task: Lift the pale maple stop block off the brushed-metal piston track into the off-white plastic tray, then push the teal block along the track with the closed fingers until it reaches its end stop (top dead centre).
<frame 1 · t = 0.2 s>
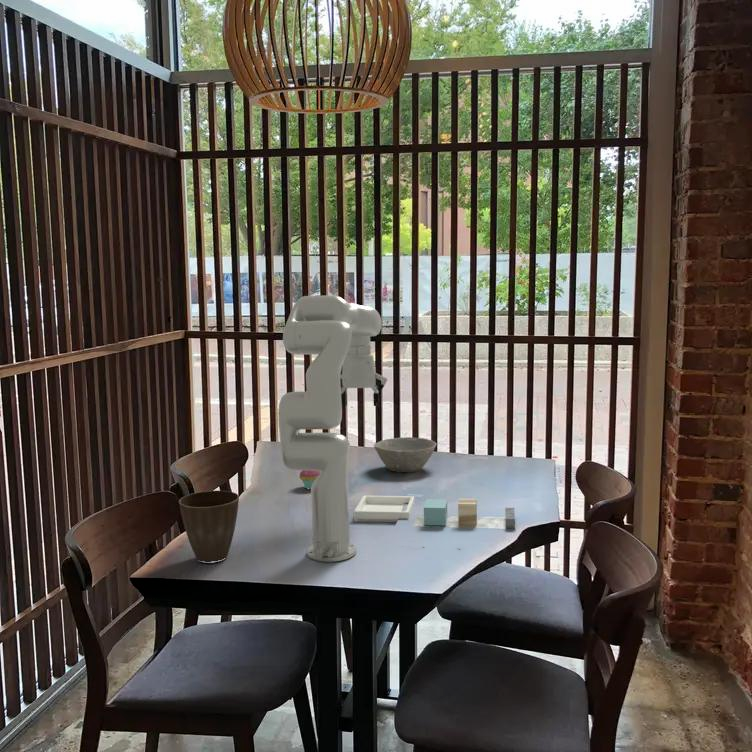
hand: (360, 405, 233), 31 cm above the table, fingers open, 9 cm apart
piston track: (464, 526, 211), on the table
teal block: (435, 512, 212), point 4 cm above the table, slide at 0.0 cm
ceramic bowl: (405, 470, 275), on the table
cupcake: (312, 488, 255), on the table
plant pot: (212, 559, 192), on the table
stop block: (467, 522, 211), point 1 cm above the table, touching piston track
tray: (385, 513, 225), on the table
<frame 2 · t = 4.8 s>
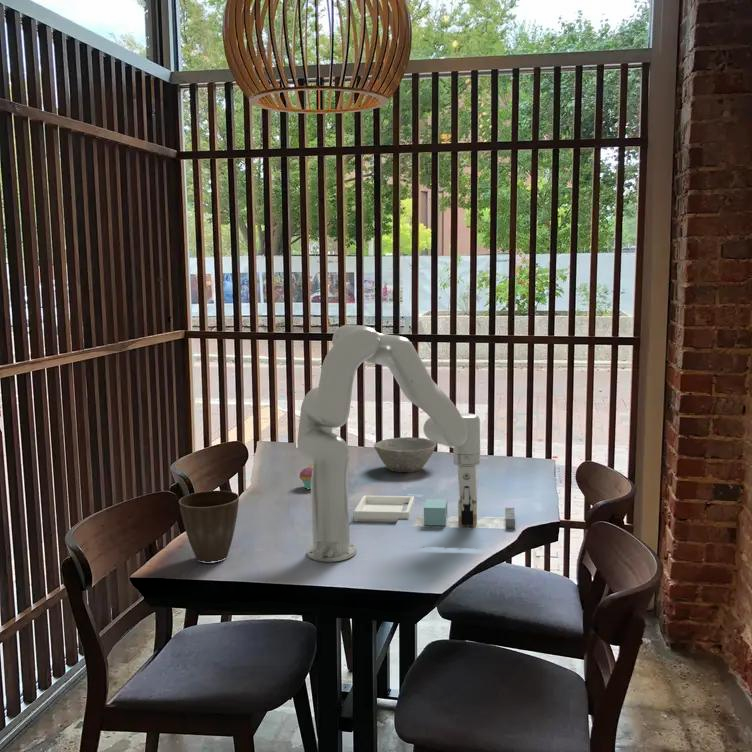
hand: (467, 520, 211), 2 cm above the table, fingers closed on stop block, 5 cm apart
stop block: (467, 522, 211), point 1 cm above the table, touching gripper, piston track
everything else where it was.
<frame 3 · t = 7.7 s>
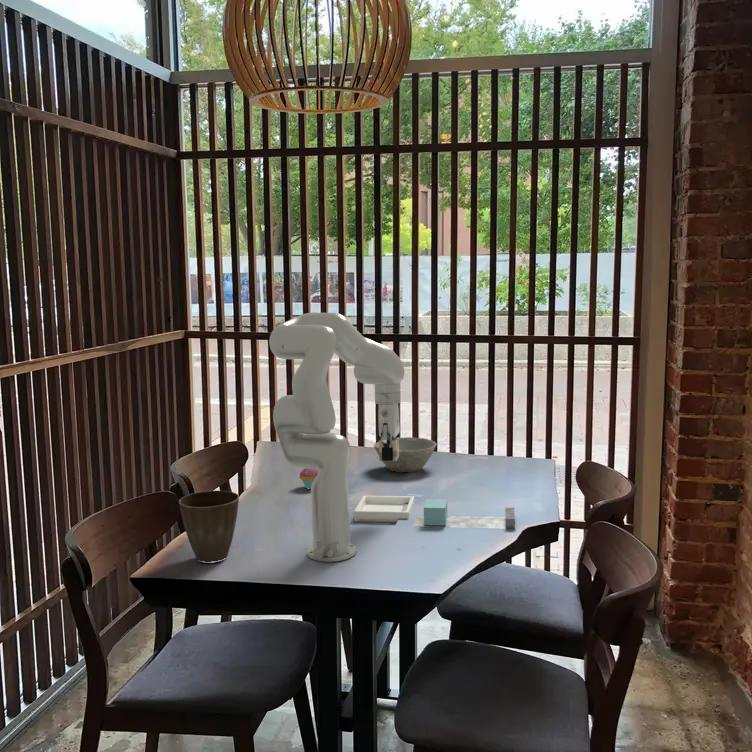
hand: (389, 457, 221), 17 cm above the table, fingers closed on stop block, 5 cm apart
stop block: (389, 459, 221), point 17 cm above the table, touching gripper
everything else where it was.
when the fingers open (3 cm above the table, at t = 11.0 s): stop block drops 2 cm, resting on tray.
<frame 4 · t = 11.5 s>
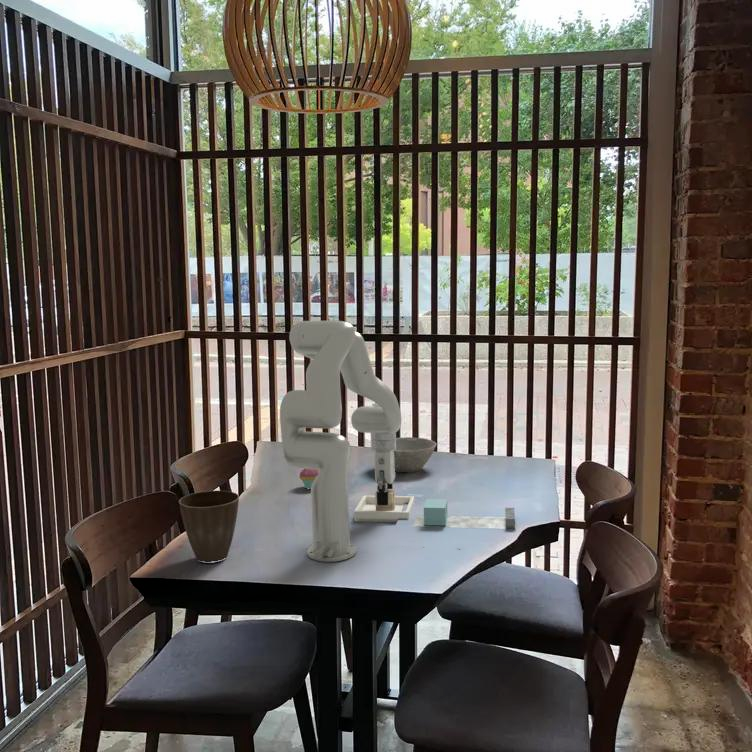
hand: (385, 500, 224), 4 cm above the table, fingers open, 9 cm apart
stop block: (385, 510, 224), point 1 cm above the table, touching tray
everything else where it was.
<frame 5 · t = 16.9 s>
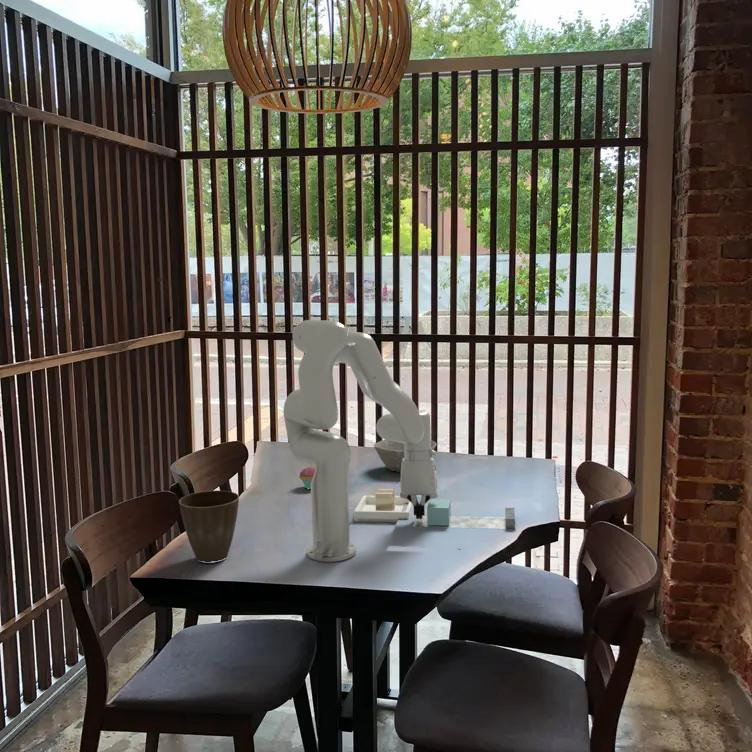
hand: (419, 517, 213), 2 cm above the table, fingers closed
teal block: (439, 512, 212), point 4 cm above the table, slide at 1.0 cm, touching gripper
everything else where it was.
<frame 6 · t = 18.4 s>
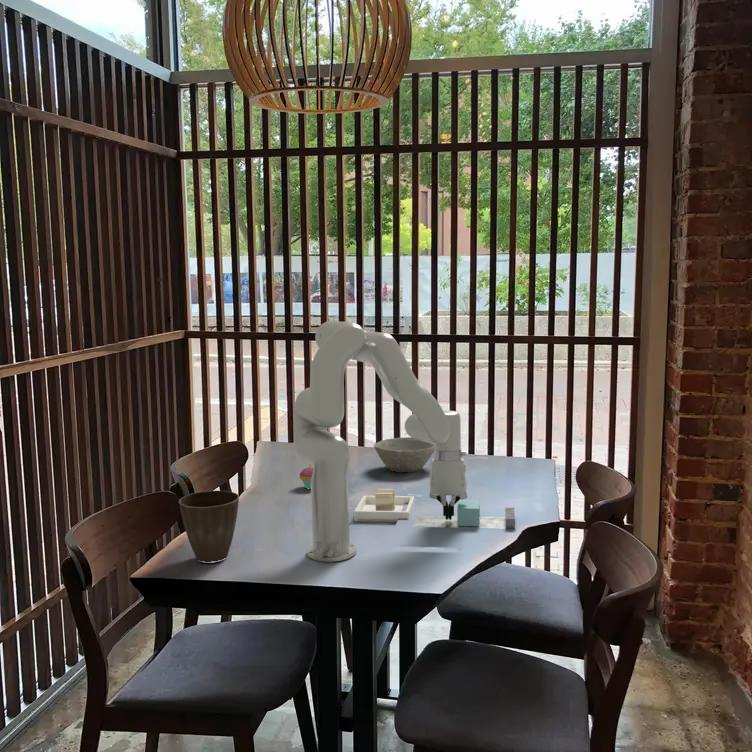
hand: (448, 518, 211), 2 cm above the table, fingers closed
teal block: (468, 512, 210), point 4 cm above the table, slide at 9.3 cm, touching gripper
everything else where it was.
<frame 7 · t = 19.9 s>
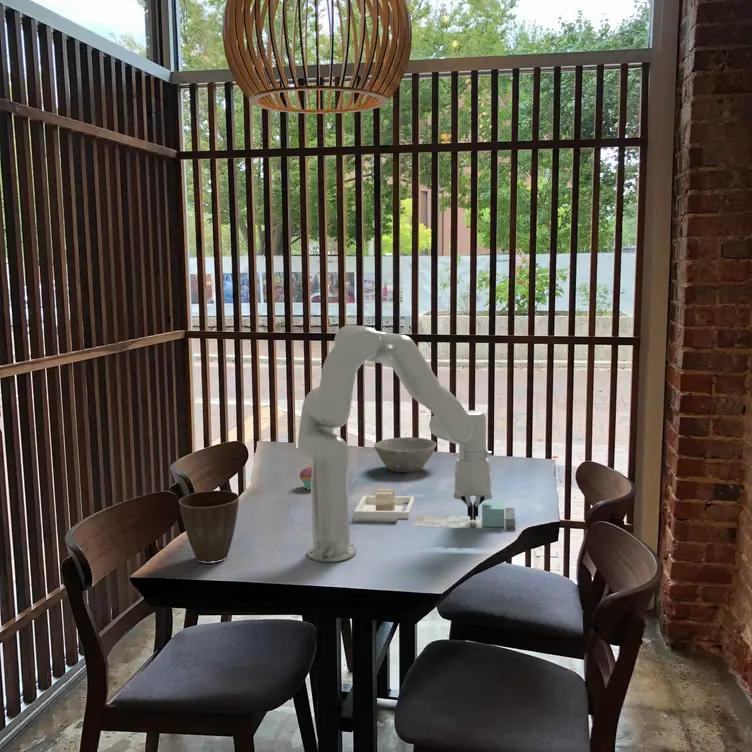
hand: (473, 518, 210), 2 cm above the table, fingers closed
teal block: (493, 513, 209), point 4 cm above the table, slide at 16.1 cm, touching gripper
everything else where it was.
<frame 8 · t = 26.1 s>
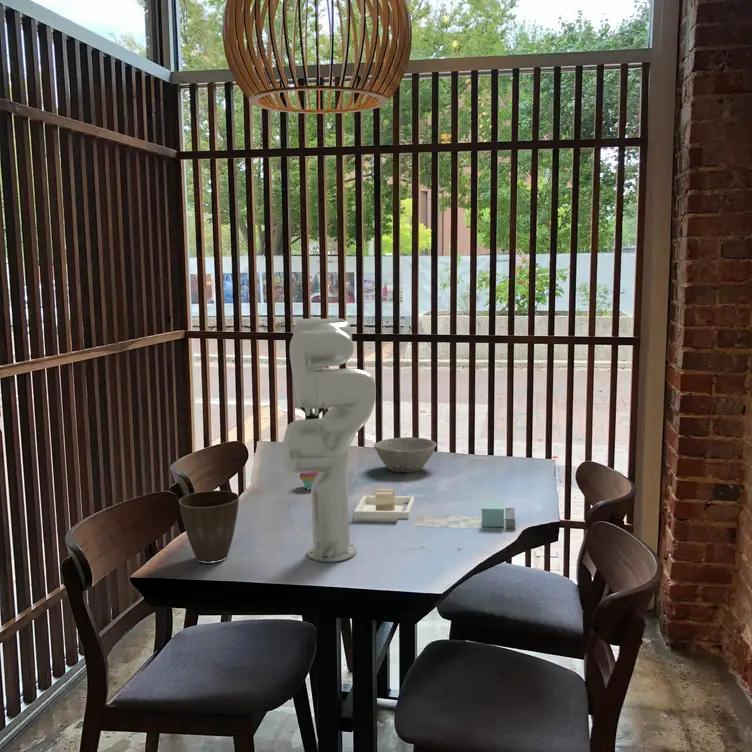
hand: (313, 428, 208), 29 cm above the table, fingers closed
teal block: (492, 513, 209), point 4 cm above the table, slide at 16.0 cm
everything else where it was.
at the end: stop block inside the target area on the tray (0.1 cm from its centre), point 0.8 cm above the tray's base; teal block slide at 16.0 cm; stop block tilted 0° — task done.
